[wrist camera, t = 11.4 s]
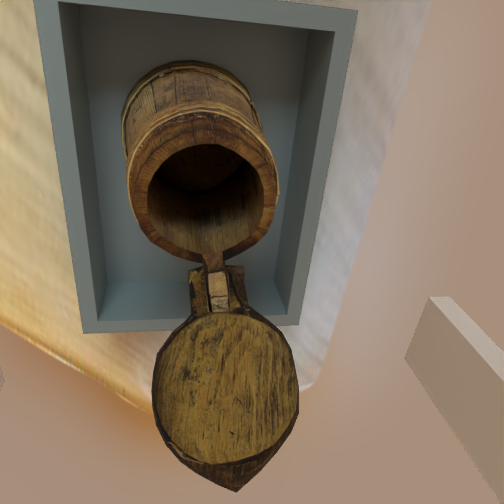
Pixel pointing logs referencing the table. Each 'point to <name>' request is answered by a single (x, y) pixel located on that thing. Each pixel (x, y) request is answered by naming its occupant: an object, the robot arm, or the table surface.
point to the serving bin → (113, 159)
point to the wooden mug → (210, 267)
